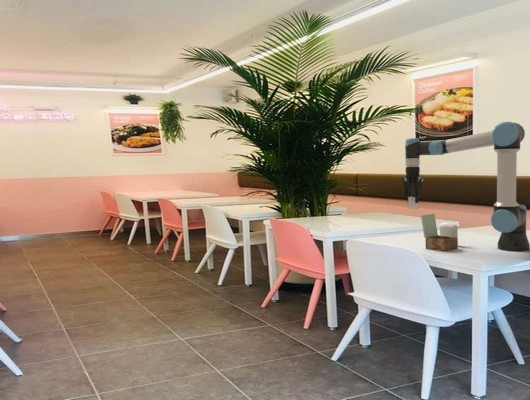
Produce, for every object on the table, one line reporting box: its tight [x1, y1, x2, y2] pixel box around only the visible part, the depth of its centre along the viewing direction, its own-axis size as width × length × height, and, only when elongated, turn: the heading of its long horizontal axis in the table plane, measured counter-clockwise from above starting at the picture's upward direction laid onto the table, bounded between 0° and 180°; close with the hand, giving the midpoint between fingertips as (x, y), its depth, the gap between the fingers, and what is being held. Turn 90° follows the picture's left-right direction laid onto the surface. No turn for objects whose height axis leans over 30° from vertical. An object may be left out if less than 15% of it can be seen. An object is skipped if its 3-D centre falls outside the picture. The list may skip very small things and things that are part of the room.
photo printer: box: [439, 222, 459, 238], centre depth 279 cm, size 10×4×12 cm, turn 29°
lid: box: [420, 213, 439, 239], centre depth 274 cm, size 12×11×1 cm
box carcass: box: [425, 234, 459, 252], centre depth 269 cm, size 12×11×6 cm
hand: (413, 208), depth 282 cm, fingers open, 3 cm apart
